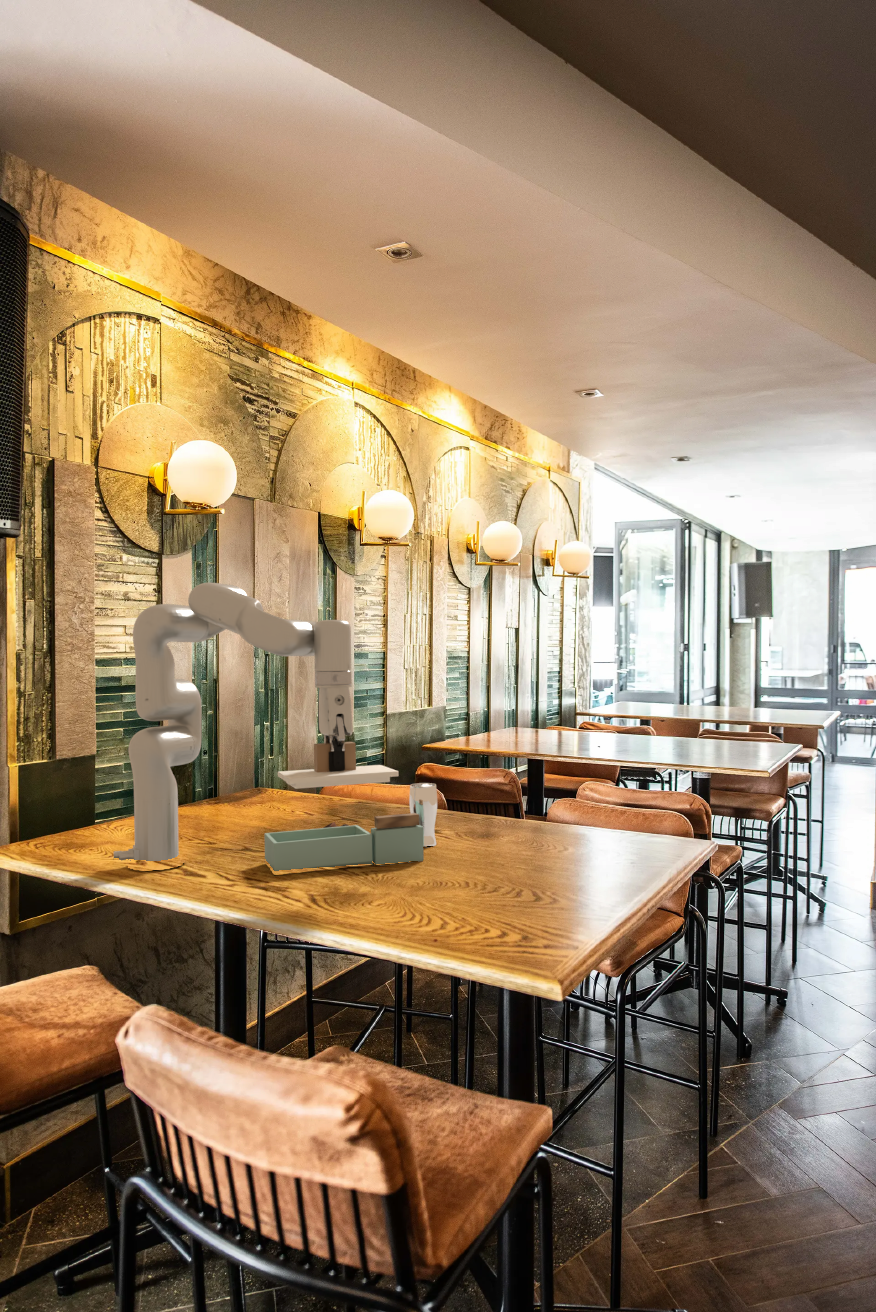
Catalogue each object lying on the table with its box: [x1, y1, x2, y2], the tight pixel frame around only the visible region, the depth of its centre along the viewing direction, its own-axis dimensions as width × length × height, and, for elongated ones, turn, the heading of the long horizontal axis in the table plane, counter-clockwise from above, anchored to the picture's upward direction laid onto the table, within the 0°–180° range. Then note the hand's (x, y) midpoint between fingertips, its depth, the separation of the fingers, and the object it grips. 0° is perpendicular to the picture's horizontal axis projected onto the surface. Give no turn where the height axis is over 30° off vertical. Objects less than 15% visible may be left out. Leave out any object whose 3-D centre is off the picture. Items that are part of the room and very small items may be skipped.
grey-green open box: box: [264, 824, 425, 871], centre depth 193 cm, size 34×13×8 cm, turn 111°
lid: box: [277, 741, 399, 790], centre depth 171 cm, size 22×12×8 cm, turn 111°
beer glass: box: [409, 782, 438, 848], centre depth 210 cm, size 7×7×15 cm
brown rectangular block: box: [374, 813, 419, 829], centre depth 193 cm, size 10×2×2 cm, turn 111°
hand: (334, 769), depth 173 cm, fingers closed on lid, 3 cm apart
